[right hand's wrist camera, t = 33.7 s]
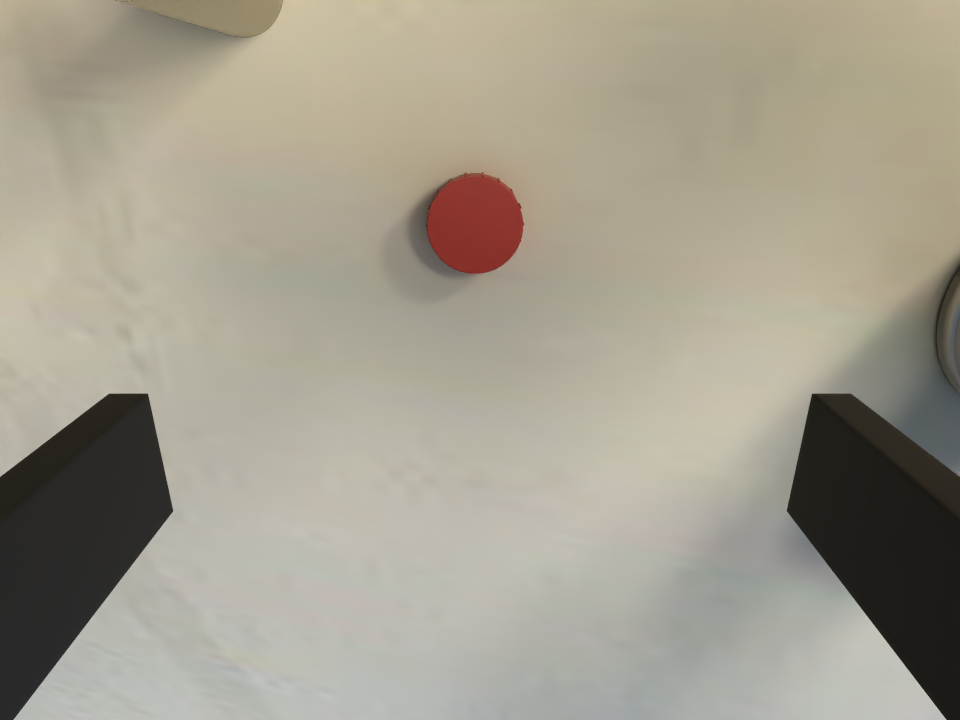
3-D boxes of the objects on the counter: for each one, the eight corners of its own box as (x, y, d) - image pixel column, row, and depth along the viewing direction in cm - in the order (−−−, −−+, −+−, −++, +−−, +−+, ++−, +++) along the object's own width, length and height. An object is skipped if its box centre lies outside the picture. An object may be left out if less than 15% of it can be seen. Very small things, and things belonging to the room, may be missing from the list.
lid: (503, 278, 40) (504, 287, 38) (416, 248, 39) (413, 256, 37) (535, 191, 38) (539, 195, 36) (444, 158, 37) (442, 161, 35)
